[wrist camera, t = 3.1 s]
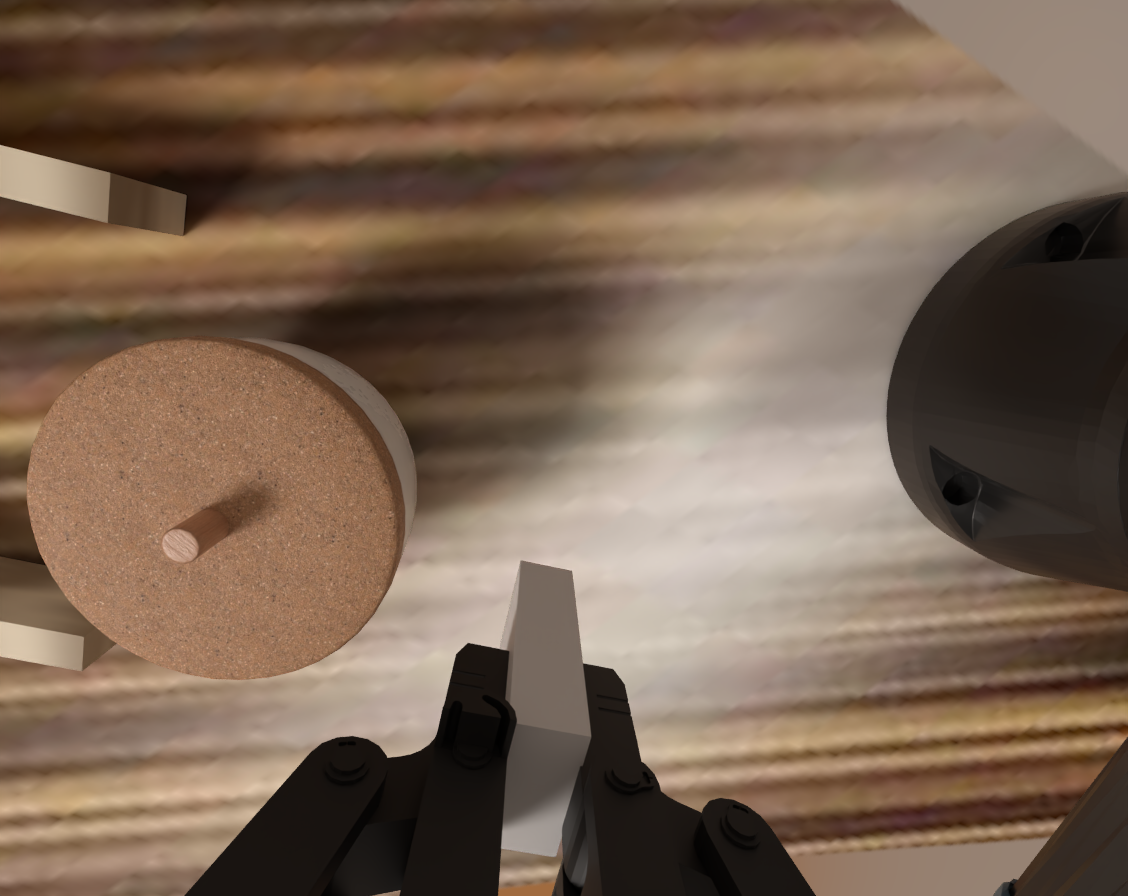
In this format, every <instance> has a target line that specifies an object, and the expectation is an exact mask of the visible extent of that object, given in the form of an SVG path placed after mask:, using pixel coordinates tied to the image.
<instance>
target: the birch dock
mask: <svg viewBox="0 0 1128 896" xmlns="http://www.w3.org/2000/svg"><path fill="white" fill-rule="evenodd" d="M0 196H1V197H5V198H9V199H13V200H17V201H21V202H25V203H29V204H33V205H37V206H41V207H45V208H49V209H53V210H57V211H62V212H66V213H70V214H74V215H78V216H82V217H86V218H90V219H94V220H98V221H102V222H106V223H111V224H117V225H123V226H128V227H134V228H140V229H145V230H151V231H157V232H162V233H168V234H174V235H179V236H183V233H184V222H185V210H186V198H187V195H185V194H181V193H178V192H174V191H171V190H167V189H164V188H161V187H157V186H154V185H150V184H147V183H143V182H140V181H137V180H133V179H130V178H126V177H123V176H120V175H116V174H113V173H109V172H105V171H101V170H97V169H93V168H89V167H85V166H81V165H77V164H74V163H70V162H66V161H62V160H58V159H54V158H50V157H46V156H42V155H38V154H34V153H30V152H26V151H22V150H18V149H14V148H10V147H6V146H2V145H0ZM115 644H117V643H116V642H114V641H112V640H111V639H109V638H108V637H107V636H106V635H104V634H103V633H102V632H101V631H100V630H99V629H97V628H96V627H95V626H94V625H93V624H91V623H90V622H89V621H88V620H87V619H86V618H85V617H84V616H83V615H82V614H81V613H80V612H79V611H78V610H77V609H76V608H75V607H74V606H73V605H72V603H71V602H70V601H69V600H68V599H67V597H66V596H65V594H64V593H63V592H62V590H61V589H60V587H59V586H58V584H57V583H56V581H55V580H54V578H53V577H52V575H51V573H50V571H49V569H48V567H47V566H46V565H41V564H36V563H31V562H26V561H21V560H16V559H11V558H6V557H0V656H1V657H7V658H12V659H18V660H23V661H29V662H34V663H40V664H45V665H50V666H56V667H61V668H67V669H72V670H78V671H83V670H84V669H85V668H87V667H88V666H89V665H90V664H92V663H93V662H94V661H95V660H97V659H98V658H99V657H100V656H102V655H103V654H104V653H105V652H107V651H108V650H109V649H110V648H112V647H113V646H114V645H115Z"/></svg>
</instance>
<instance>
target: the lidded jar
mask: <svg viewBox="0 0 1128 896" xmlns="http://www.w3.org/2000/svg"><path fill="white" fill-rule="evenodd" d="M416 503H417V475H416V468H415V462H414V455H413V452H412V449H411V446H410V442H409V439H408V436H407V434H406V432H405V430H404V428H403V426H402V424H401V422H400V420H399V418H398V416H397V415H396V413H395V412H394V410H393V409H392V408H391V406H390V405H389V403H388V402H387V401H386V399H385V398H384V397H383V396H382V395H381V394H380V393H379V392H378V391H377V390H376V389H375V388H374V386H373V385H372V384H371V383H370V382H368V381H367V380H366V379H364V378H363V377H362V376H361V375H359V374H358V373H357V372H355V371H354V370H353V369H351V368H350V367H348V366H346V365H344V364H342V363H341V362H339V361H337V360H335V359H334V358H332V357H329V356H327V355H325V354H322V353H319V352H317V351H314V350H312V349H309V348H306V347H304V346H300V345H296V344H291V343H287V342H282V341H278V340H271V339H263V338H248V337H224V338H223V337H208V336H193V337H182V338H171V339H161V340H155V341H151V342H147V343H144V344H140V345H136V346H132V347H128V348H126V349H124V350H122V351H119V352H117V353H115V354H113V355H111V356H108V357H106V358H104V359H102V360H100V361H99V362H97V363H96V364H94V365H93V366H92V367H90V368H89V369H87V370H86V371H84V372H83V373H82V374H80V375H79V376H78V377H77V378H76V379H75V380H74V381H73V382H72V383H71V384H70V385H69V386H68V387H67V388H66V389H65V390H64V391H63V392H62V393H61V394H60V395H59V396H58V398H57V399H56V401H55V402H54V404H53V405H52V407H51V408H50V410H49V411H48V413H47V415H46V416H45V418H44V419H43V422H42V424H41V427H40V429H39V432H38V434H37V436H36V439H35V441H34V444H33V446H32V452H31V457H30V463H29V468H28V478H27V504H28V509H29V515H30V521H31V526H32V530H33V533H34V536H35V539H36V543H37V546H38V549H39V552H40V554H41V556H42V558H43V560H44V562H45V564H46V566H47V567H48V569H49V571H50V573H51V575H52V577H53V578H54V580H55V581H56V583H57V584H58V586H59V587H60V589H61V590H62V592H63V593H64V594H65V596H66V597H67V599H68V600H69V601H70V602H71V603H72V605H73V606H74V607H75V608H76V609H77V610H78V611H79V612H80V613H81V614H82V615H83V616H84V617H85V618H86V619H87V620H88V621H89V622H90V623H91V624H93V625H94V626H95V627H96V628H97V629H99V630H100V631H101V632H102V633H103V634H104V635H106V636H107V637H108V638H109V639H111V640H112V641H114V642H116V643H117V644H119V645H120V646H122V647H124V648H125V649H127V650H129V651H130V652H132V653H134V654H136V655H138V656H140V657H142V658H144V659H146V660H148V661H150V662H153V663H155V664H157V665H159V666H162V667H165V668H168V669H172V670H175V671H179V672H182V673H185V674H190V675H195V676H200V677H206V678H211V679H233V680H245V679H256V678H267V677H272V676H277V675H281V674H285V673H289V672H293V671H296V670H299V669H301V668H304V667H306V666H309V665H311V664H314V663H316V662H318V661H320V660H322V659H323V658H325V657H327V656H328V655H330V654H332V653H333V652H335V651H337V650H338V649H340V648H341V647H342V646H343V645H345V644H346V643H347V642H348V641H349V640H351V639H352V638H353V637H354V636H355V635H356V634H358V633H359V632H360V630H361V629H362V628H363V627H364V626H365V624H366V623H367V622H368V621H369V620H370V618H371V617H372V616H373V615H374V614H375V612H376V610H377V609H378V607H379V605H380V603H381V602H382V600H383V598H384V596H385V595H386V593H387V591H388V590H389V588H390V586H391V584H392V581H393V578H394V576H395V573H396V570H397V567H398V565H399V562H400V559H401V557H402V555H403V552H404V550H405V547H406V544H407V541H408V539H409V536H410V533H411V529H412V524H413V519H414V514H415V508H416Z"/></svg>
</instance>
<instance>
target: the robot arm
mask: <svg viewBox="0 0 1128 896" xmlns="http://www.w3.org/2000/svg"><path fill="white" fill-rule="evenodd" d="M887 432H888V441H889V446H890V451H891V455H892V459H893V462H894V466H895V468H896V471H897V474H898V476H899V478H900V480H901V482H902V485H903V487H904V488H905V490H906V492H907V493H908V495H909V497H910V498H911V500H912V501H913V502H914V504H915V505H916V507H917V508H918V509H919V510H920V511H921V512H922V514H923V515H924V516H925V517H926V518H927V519H928V520H929V521H930V522H931V523H933V524H934V525H935V526H936V527H938V528H939V529H940V530H941V531H943V532H944V533H946V534H947V535H949V536H950V537H952V538H954V539H955V540H957V541H959V542H960V543H962V544H964V545H966V546H967V547H969V548H971V549H972V550H974V551H976V552H978V553H979V554H981V555H983V556H985V557H987V558H988V559H990V560H993V561H995V562H997V563H999V564H1002V565H1004V566H1007V567H1010V568H1013V569H1016V570H1018V571H1021V572H1025V573H1029V574H1033V575H1038V576H1043V577H1049V578H1054V579H1060V580H1066V581H1071V582H1077V583H1082V584H1088V585H1093V586H1099V587H1105V588H1110V589H1116V590H1121V591H1127V592H1128V192H1121V193H1116V194H1110V195H1105V196H1100V197H1094V198H1089V199H1083V200H1078V201H1072V202H1067V203H1063V204H1059V205H1055V206H1051V207H1048V208H1045V209H1042V210H1039V211H1036V212H1034V213H1031V214H1029V215H1026V216H1024V217H1022V218H1020V219H1018V220H1016V221H1014V222H1012V223H1010V224H1008V225H1006V226H1004V227H1003V228H1001V229H999V230H998V231H996V232H994V233H993V234H991V235H990V236H988V237H987V238H986V239H984V240H983V241H981V242H980V243H979V244H977V245H976V246H975V247H974V248H972V249H971V250H970V251H969V252H967V253H966V254H965V255H964V256H963V257H962V258H961V259H960V260H958V261H957V262H956V263H955V264H954V265H953V266H952V268H951V269H950V270H949V271H948V272H947V273H946V274H945V275H944V276H943V277H942V278H941V280H940V281H939V282H938V283H937V284H936V285H935V287H934V288H933V289H932V291H931V292H930V293H929V295H928V296H927V297H926V299H925V300H924V302H923V303H922V305H921V306H920V308H919V310H918V311H917V313H916V315H915V317H914V318H913V320H912V322H911V324H910V326H909V328H908V330H907V332H906V334H905V336H904V338H903V341H902V343H901V346H900V348H899V351H898V354H897V357H896V360H895V363H894V367H893V371H892V375H891V379H890V385H889V391H888V400H887ZM630 715H631V712H630V707H629V703H628V698H627V693H626V689H625V684H624V683H623V682H622V680H621V679H620V678H619V676H618V675H617V674H616V672H615V671H614V670H613V669H610V668H604V667H599V666H594V665H589V664H583V661H582V652H581V644H580V635H579V626H578V618H577V609H576V601H575V592H574V583H573V575H572V571H569V570H565V569H560V568H555V567H550V566H545V565H540V564H536V563H531V562H526V561H520V566H519V570H518V574H517V578H516V582H515V586H514V590H513V594H512V598H511V602H510V607H509V611H508V615H507V619H506V623H505V627H504V631H503V635H502V639H501V643H500V649H497V648H491V647H486V646H481V645H476V644H470V643H468V644H467V645H465V646H464V647H463V648H462V649H461V650H460V651H459V652H458V653H457V654H456V657H455V662H454V666H453V670H452V674H451V679H450V683H449V687H448V691H447V696H446V700H445V704H444V707H443V710H442V714H441V719H440V723H439V727H438V732H437V735H436V737H435V739H434V740H433V741H432V742H431V743H430V744H429V745H428V746H427V747H425V748H424V749H422V750H421V751H418V752H416V753H413V754H411V755H406V756H400V757H391V758H387V756H386V754H385V753H384V752H383V750H382V749H381V748H380V746H378V745H377V744H375V743H373V742H371V741H370V740H368V739H364V738H359V737H354V736H350V737H337V738H335V739H332V740H329V741H327V742H324V743H322V744H321V745H319V746H318V747H317V748H316V749H314V750H313V751H312V752H311V753H310V754H309V755H308V756H307V757H306V758H305V759H304V761H303V762H302V763H301V764H300V765H299V766H298V767H297V769H296V770H295V771H294V772H293V773H292V774H291V775H290V776H289V778H288V779H287V780H286V781H285V782H284V783H283V784H282V786H281V787H280V788H279V789H278V790H277V791H276V792H275V793H274V795H273V796H272V797H271V798H270V799H269V800H268V801H267V803H266V804H265V805H264V806H263V807H262V808H261V809H260V811H259V812H258V813H257V814H256V815H255V816H254V817H253V818H252V820H251V821H250V822H249V823H248V824H247V825H246V826H245V828H244V829H243V830H242V831H241V832H240V833H239V834H238V835H237V837H236V838H235V839H234V840H233V841H232V842H231V843H230V845H229V846H228V847H227V848H226V849H225V850H224V851H223V853H222V854H221V855H220V856H219V857H218V858H217V859H216V860H215V862H214V863H213V864H212V865H211V866H210V867H209V868H208V870H207V871H206V872H205V873H204V874H203V875H202V876H201V877H200V879H199V880H198V881H197V882H196V883H195V884H194V885H193V887H192V888H191V889H190V890H189V891H188V892H187V893H186V895H185V896H372V895H377V894H383V893H388V892H393V891H398V890H401V892H400V896H498V887H499V872H500V857H501V849H507V850H513V851H520V852H526V853H532V854H539V855H545V856H551V857H556V854H557V851H558V847H559V844H560V841H561V837H562V846H563V860H562V863H561V866H560V869H559V873H558V876H557V879H556V883H555V886H554V890H553V893H552V896H816V895H815V894H814V892H813V891H812V889H811V888H810V886H809V885H808V883H807V882H806V880H805V879H804V877H803V876H802V874H801V873H800V871H799V870H798V868H797V867H796V865H795V864H794V862H793V861H792V859H791V858H790V856H789V855H788V853H787V852H786V850H785V849H784V847H783V846H782V844H781V843H780V841H779V840H778V838H777V837H776V835H775V834H774V832H773V831H772V829H771V828H770V826H769V825H768V824H767V823H766V822H765V821H764V819H763V818H762V817H761V816H760V815H759V814H757V813H756V812H755V811H753V810H752V809H751V808H749V807H748V806H746V805H744V804H742V803H739V802H737V801H735V800H731V799H724V798H718V799H715V800H711V801H709V802H708V803H707V805H706V806H705V807H704V808H703V811H702V813H701V812H699V811H697V810H694V809H692V808H690V807H688V806H685V805H683V804H681V803H679V802H677V801H675V800H673V799H671V798H669V797H668V796H666V795H665V794H664V793H662V792H661V790H660V785H659V783H658V781H657V779H656V777H655V774H654V773H653V772H652V771H651V770H650V769H649V768H648V767H647V766H646V764H644V763H643V762H641V758H640V753H639V748H638V744H637V739H636V735H635V730H634V725H633V721H632V716H630ZM993 896H1128V737H1127V739H1126V740H1125V741H1124V743H1123V744H1122V745H1121V746H1120V748H1119V749H1118V750H1117V752H1116V753H1115V754H1114V756H1113V757H1112V758H1111V759H1110V761H1109V762H1108V763H1107V765H1106V766H1105V767H1104V769H1103V770H1102V771H1101V772H1100V774H1099V775H1098V776H1097V778H1096V779H1095V780H1094V782H1093V783H1092V784H1091V785H1090V787H1089V788H1088V789H1087V791H1086V792H1085V793H1084V795H1083V796H1082V797H1081V798H1080V800H1079V801H1078V802H1077V804H1076V805H1075V806H1074V808H1073V809H1072V810H1071V811H1070V813H1069V814H1068V815H1067V817H1066V818H1065V819H1064V821H1063V822H1062V823H1061V824H1060V826H1059V827H1058V828H1057V830H1056V831H1055V832H1054V834H1053V835H1052V836H1051V837H1050V839H1049V840H1048V841H1047V843H1046V844H1045V845H1044V847H1043V848H1042V849H1041V850H1040V852H1039V853H1038V854H1037V856H1036V857H1035V858H1034V860H1033V861H1032V862H1031V864H1030V865H1029V866H1028V867H1027V869H1026V870H1025V871H1024V873H1023V874H1022V875H1021V876H1020V878H1019V879H1018V880H1016V879H1013V880H1012V881H1011V882H1004V883H1003V884H1002V885H1001V886H1000V887H999V888H998V889H997V891H996V892H995V893H994V895H993Z"/></svg>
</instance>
